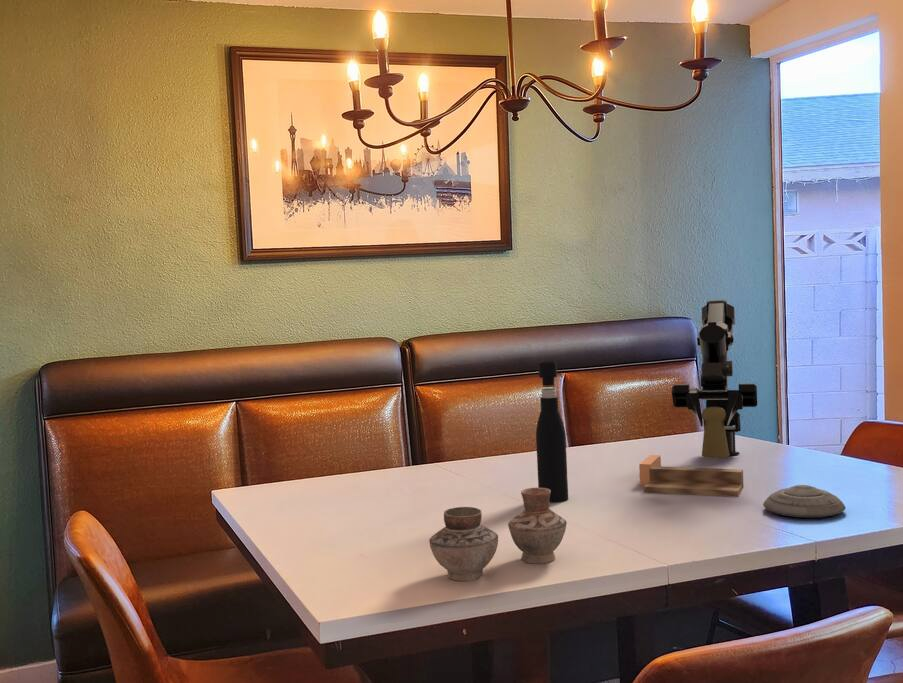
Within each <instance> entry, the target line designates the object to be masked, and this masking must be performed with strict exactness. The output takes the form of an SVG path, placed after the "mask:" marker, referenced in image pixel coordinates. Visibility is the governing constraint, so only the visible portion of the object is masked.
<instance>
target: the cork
mask: <svg viewBox="0 0 903 683" xmlns="http://www.w3.org/2000/svg"><path fill="white" fill-rule="evenodd" d="M701 412H702V420H703V422H704V421H705V427H704V426H703V428H704V430H703V438H702V449H701V456H702V458H703V457H704V458H709V459H723V458H727V457H730V456H729V450H728V444H727V438H726V432H725V427H726V426H724V420H725V418H726V412H725V410H724V409H723V408H720V407H708V408H706V407H705V408H703V410H702V411H701Z"/></svg>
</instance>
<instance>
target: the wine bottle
mask: <svg viewBox="0 0 903 683" xmlns="http://www.w3.org/2000/svg"><path fill="white" fill-rule="evenodd" d="M557 365H558V364H557V362H556V361H554V360H552V361H550V360H547V361H546V360H545V361H539V362H538V377H539V378H541V380H542V384H541V385H542V386H541V387H543V388H542V389H541V397H540V400H539V401H540V413H539V415H538V419H537V424H536V431H535V440H536V441H535V442H536V443H535V444H536V460H537V461H536V462H537V464H536V465H537V466H536V467H537V483H538V487H537V488H547V489H550V490H551V493H550V499H549V503H551V504H552V503H562V502H566V501H568V500H569V485H568V484H569V483H568V482H569V480H568V461H567V438H566V430H565V429H566V428H565V425H564V422H563V419H562V416H561V413H560V411H559V398H558V396H557V395H558V394H557V390H556V388H554V387H555V378H557V377H558V369H557V368H558V367H557Z"/></svg>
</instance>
